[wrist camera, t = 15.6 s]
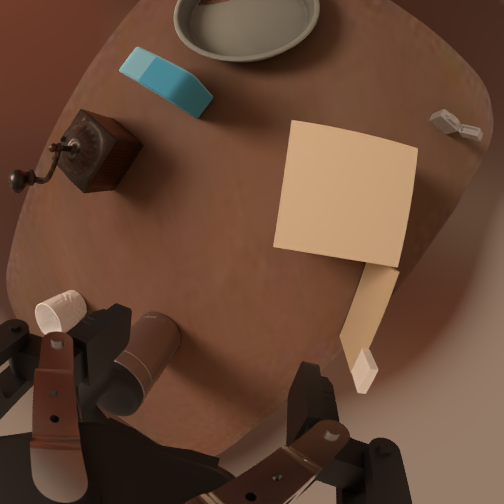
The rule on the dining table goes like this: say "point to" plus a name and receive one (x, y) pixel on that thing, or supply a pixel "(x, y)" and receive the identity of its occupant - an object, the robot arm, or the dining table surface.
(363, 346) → the beige wooden slab
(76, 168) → the pepper mill
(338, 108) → the dining table surface
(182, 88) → the data package
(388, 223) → the carton
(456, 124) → the lighter
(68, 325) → the white cup
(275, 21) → the cake pan
